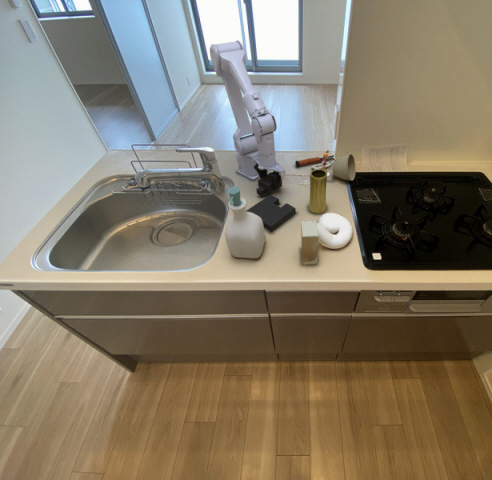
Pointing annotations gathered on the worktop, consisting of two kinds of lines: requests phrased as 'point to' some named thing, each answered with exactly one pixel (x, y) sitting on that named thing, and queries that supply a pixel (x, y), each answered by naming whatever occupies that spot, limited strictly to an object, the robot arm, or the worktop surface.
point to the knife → (309, 161)
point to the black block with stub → (266, 185)
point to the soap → (319, 166)
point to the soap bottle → (243, 229)
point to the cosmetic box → (309, 241)
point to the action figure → (325, 162)
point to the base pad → (272, 212)
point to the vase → (318, 191)
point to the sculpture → (334, 230)
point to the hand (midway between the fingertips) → (270, 184)
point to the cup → (344, 167)
